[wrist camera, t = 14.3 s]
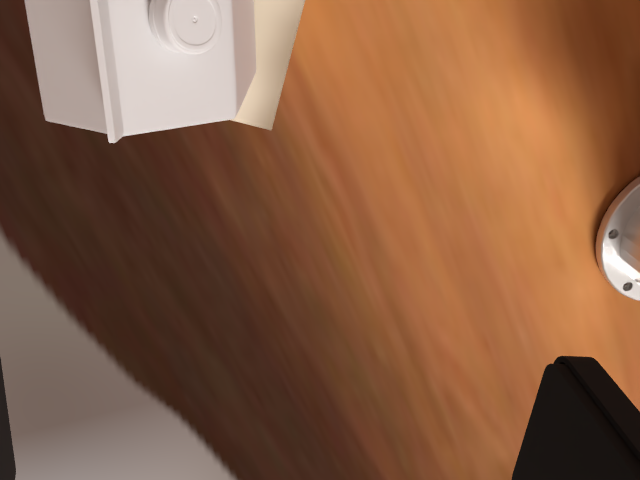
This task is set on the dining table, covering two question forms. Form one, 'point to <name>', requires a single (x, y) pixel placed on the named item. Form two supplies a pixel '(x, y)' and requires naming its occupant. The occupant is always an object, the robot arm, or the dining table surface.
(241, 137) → the dining table surface
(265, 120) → the birch block
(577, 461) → the robot arm
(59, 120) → the milk carton
